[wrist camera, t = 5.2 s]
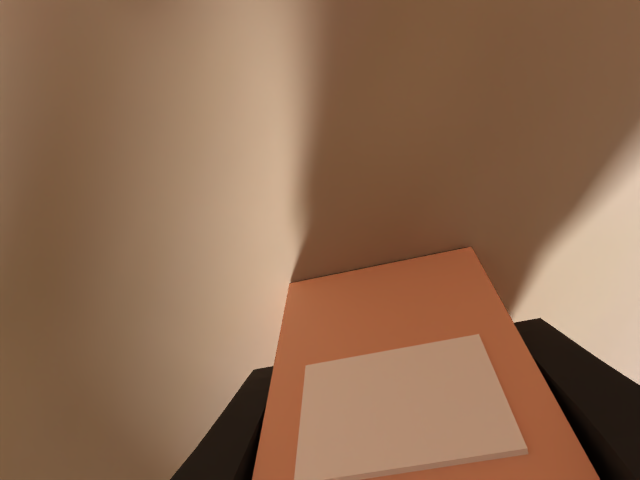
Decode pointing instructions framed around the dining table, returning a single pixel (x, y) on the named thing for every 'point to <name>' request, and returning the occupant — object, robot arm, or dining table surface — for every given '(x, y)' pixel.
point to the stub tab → (410, 382)
